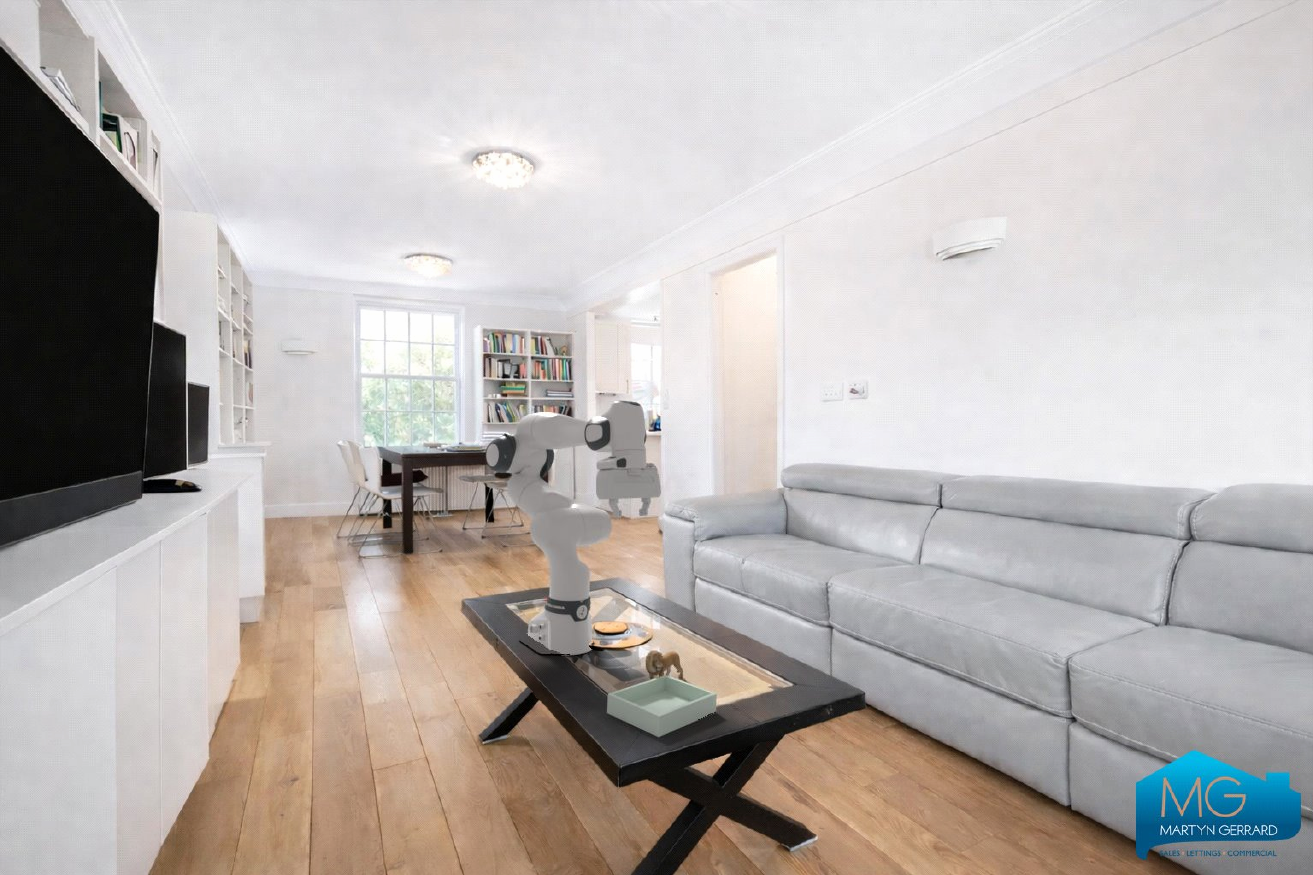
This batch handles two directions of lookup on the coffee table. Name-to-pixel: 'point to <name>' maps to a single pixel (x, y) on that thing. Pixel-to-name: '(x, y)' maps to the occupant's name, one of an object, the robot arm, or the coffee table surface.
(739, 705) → the coffee table surface
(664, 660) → the lion figurine
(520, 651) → the coffee table surface
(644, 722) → the box
